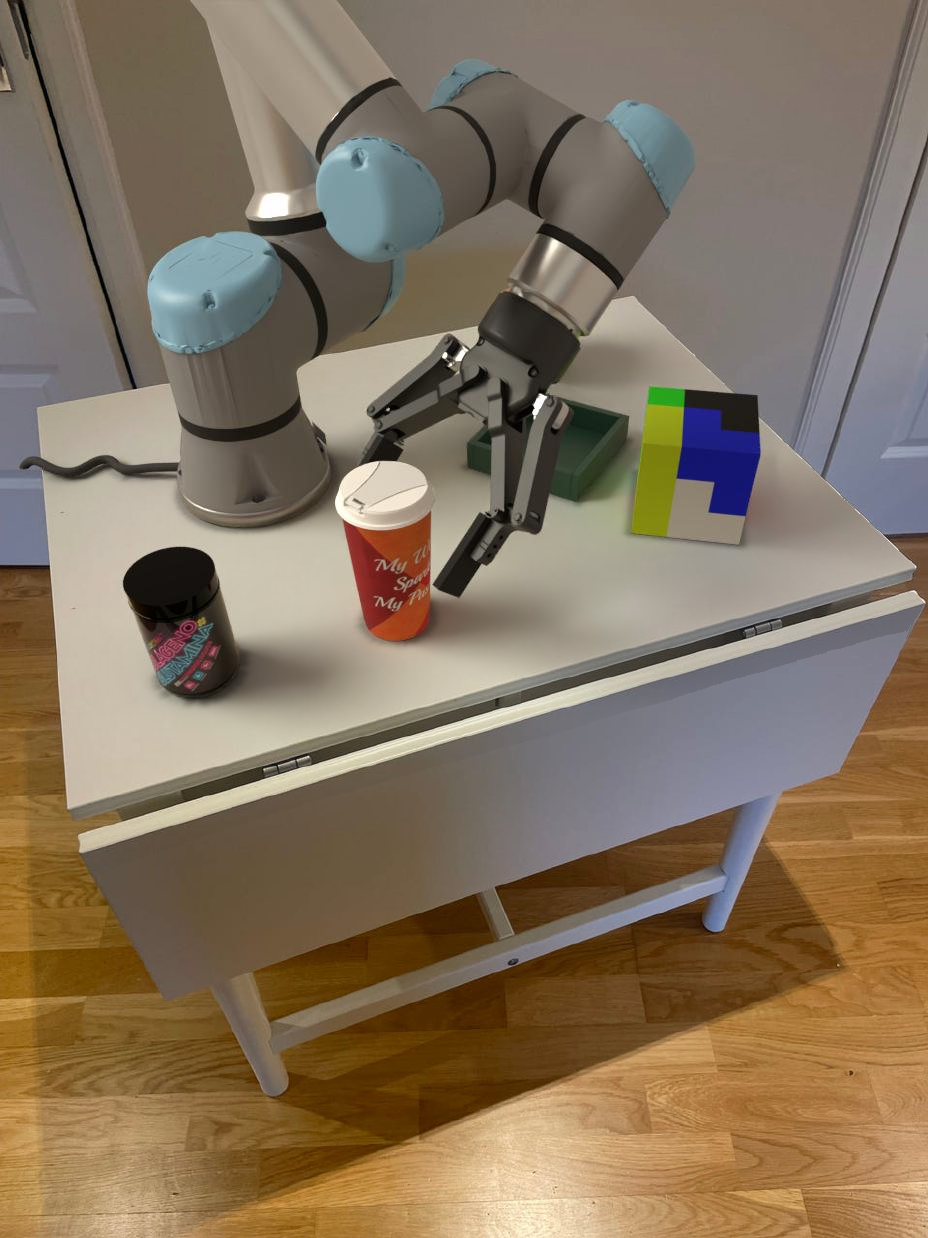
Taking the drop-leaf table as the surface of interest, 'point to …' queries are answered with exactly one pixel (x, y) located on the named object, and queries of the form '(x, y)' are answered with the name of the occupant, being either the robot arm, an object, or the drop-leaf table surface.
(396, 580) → the paper cup
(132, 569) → the supplement container
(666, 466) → the puzzle toy
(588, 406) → the green square tray
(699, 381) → the drop-leaf table surface
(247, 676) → the drop-leaf table surface
